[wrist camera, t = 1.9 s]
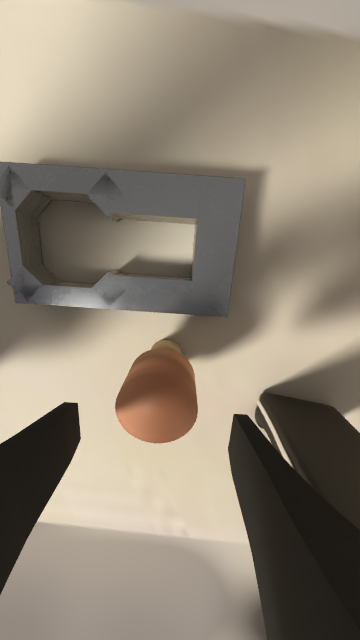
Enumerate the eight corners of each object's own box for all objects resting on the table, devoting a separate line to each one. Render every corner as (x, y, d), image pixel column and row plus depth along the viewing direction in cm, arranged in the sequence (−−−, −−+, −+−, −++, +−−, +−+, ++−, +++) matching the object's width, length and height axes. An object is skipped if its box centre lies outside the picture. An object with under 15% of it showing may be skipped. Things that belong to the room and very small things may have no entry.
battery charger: (244, 425, 19) (329, 658, 8) (257, 389, 18) (377, 599, 7) (318, 439, 19) (500, 682, 8) (336, 404, 18) (571, 629, 7)
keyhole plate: (31, 297, 16) (10, 302, 14) (15, 174, 14) (-13, 160, 12) (221, 310, 16) (227, 317, 14) (236, 189, 14) (245, 178, 12)
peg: (139, 376, 18) (116, 440, 11) (140, 328, 16) (114, 370, 10) (190, 379, 18) (194, 445, 11) (194, 331, 16) (201, 376, 10)
